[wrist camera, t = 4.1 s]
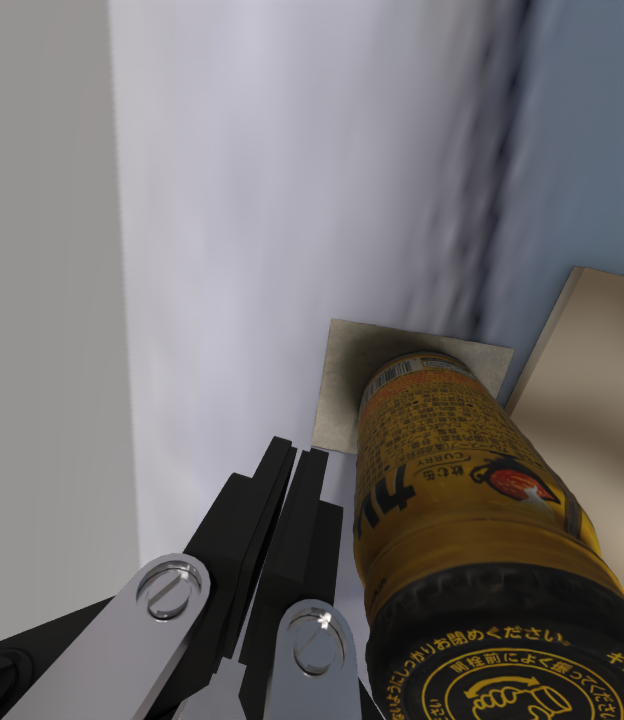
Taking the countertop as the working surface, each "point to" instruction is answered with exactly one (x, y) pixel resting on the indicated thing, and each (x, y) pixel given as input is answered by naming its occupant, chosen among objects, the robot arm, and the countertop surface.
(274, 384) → the countertop surface
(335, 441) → the condiment
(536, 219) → the countertop surface
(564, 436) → the cutting board
